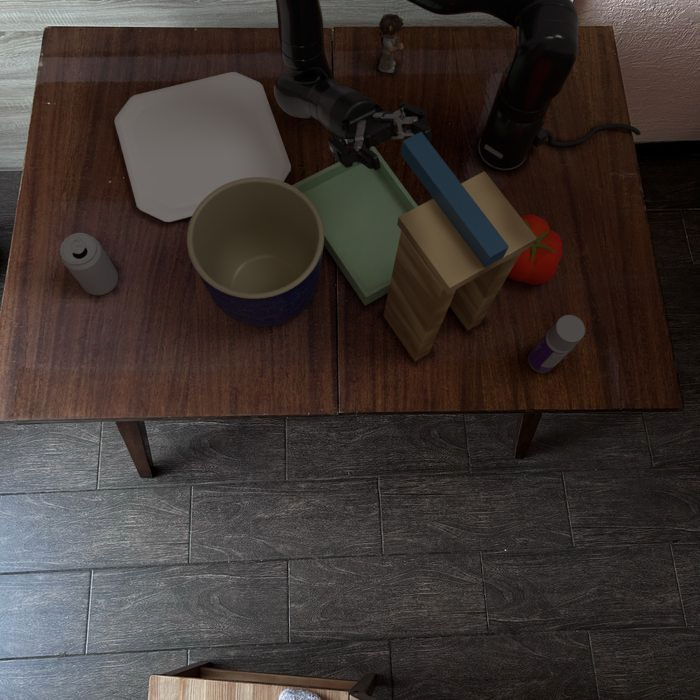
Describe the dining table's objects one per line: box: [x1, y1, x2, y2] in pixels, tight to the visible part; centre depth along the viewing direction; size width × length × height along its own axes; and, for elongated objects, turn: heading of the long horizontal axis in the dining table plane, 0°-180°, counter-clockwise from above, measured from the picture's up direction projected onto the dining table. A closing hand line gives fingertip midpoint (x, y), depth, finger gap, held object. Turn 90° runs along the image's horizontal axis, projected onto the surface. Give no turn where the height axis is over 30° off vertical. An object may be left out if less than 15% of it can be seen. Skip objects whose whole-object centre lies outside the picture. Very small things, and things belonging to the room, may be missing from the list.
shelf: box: [383, 170, 537, 362], centre depth 106 cm, size 14×12×32 cm
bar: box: [400, 132, 509, 268], centre depth 91 cm, size 3×20×3 cm, turn 32°
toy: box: [376, 3, 406, 74], centre depth 132 cm, size 6×6×15 cm
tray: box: [292, 146, 419, 306], centre depth 125 cm, size 18×26×4 cm
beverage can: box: [59, 232, 119, 296], centre depth 116 cm, size 6×6×12 cm
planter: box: [186, 177, 325, 328], centre depth 113 cm, size 21×21×19 cm
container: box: [527, 314, 586, 374], centre depth 112 cm, size 5×5×15 cm
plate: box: [114, 71, 292, 224], centre depth 130 cm, size 29×29×2 cm
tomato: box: [507, 213, 563, 286], centre depth 122 cm, size 13×12×8 cm
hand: (403, 150), depth 97 cm, fingers open, 8 cm apart
